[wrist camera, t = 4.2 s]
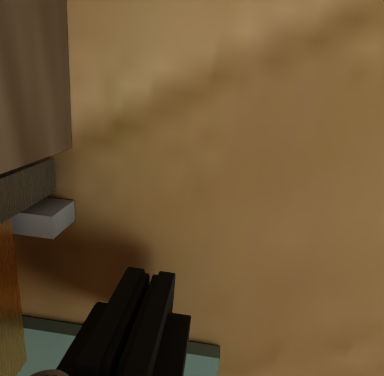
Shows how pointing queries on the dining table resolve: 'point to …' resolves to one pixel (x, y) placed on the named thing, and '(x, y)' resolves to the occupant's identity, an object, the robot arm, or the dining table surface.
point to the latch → (5, 254)
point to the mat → (66, 332)
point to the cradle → (35, 102)
